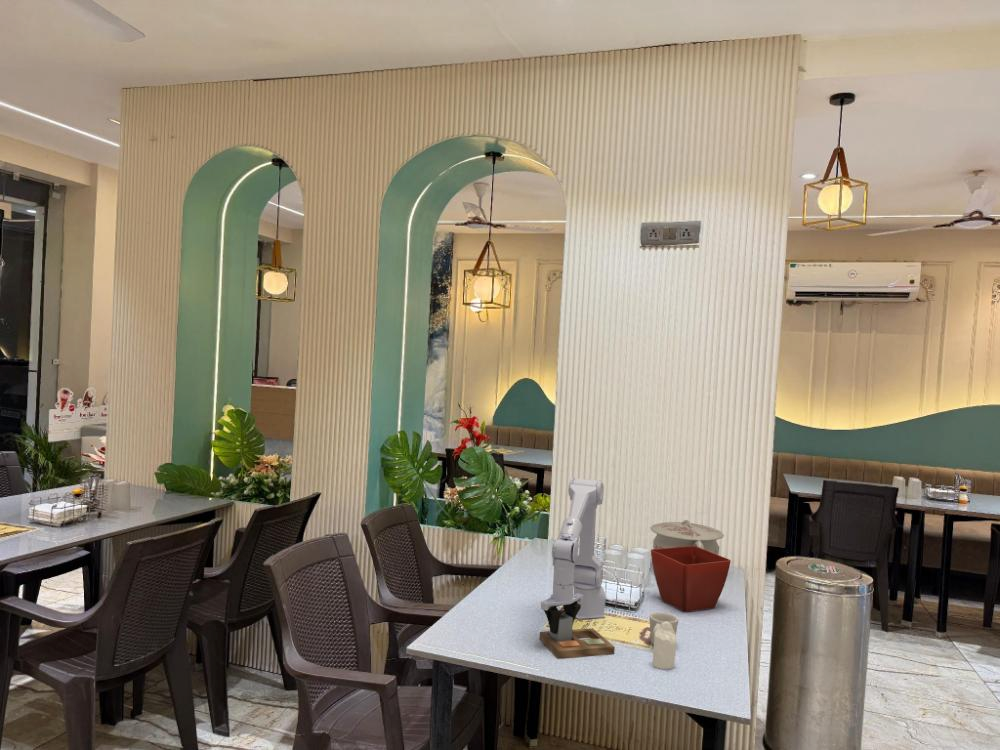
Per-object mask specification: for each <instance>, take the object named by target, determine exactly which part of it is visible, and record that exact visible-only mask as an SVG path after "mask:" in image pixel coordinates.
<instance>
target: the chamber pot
mask: <svg viewBox="0 0 1000 750" xmlns="http://www.w3.org/2000/svg"><path fill="white" fill-rule="evenodd" d="M649 529H650V531H651V532H653V533H655V534H656V535H655V537H654V538H653V540H652V548H653V549H662V548H673V547H685V546H697V547H699V548H702V549H704V550H707V551H709V552H712V553H714V554H717V555H719V556H720V545H719V544H718V540H720V539H723V538H724V536H725V534H724V533H723V532H722V531H720V530H718V529H716V528H714V527H710V526H707V525H704V524H700V523H699V524H698V523H693V522H691V521H690V520H688V519H685V520H683V521H668V522H666V521H665V522H659V523H655V524H653V525H651V526H650V527H649Z"/></svg>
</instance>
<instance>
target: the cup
mask: <svg viewBox="0 0 1000 750" xmlns="http://www.w3.org/2000/svg"><path fill="white" fill-rule="evenodd" d="M666 621H667V622H669V623H670V624H672V628H673V630H674V631H675V634H676V635H677V631H678V625H679V624H678V623H679V618H678V616H676V615H674V614H672V613H667V612H661V611H660V612H653V613H650V615H649V632H650V633H649V636H650V642H651V644H652V645H654V634H655V632H656V631H657V630H658V629H659V627H660V626H661V624H662V623H664V622H666Z"/></svg>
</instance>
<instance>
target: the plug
mask: <svg viewBox="0 0 1000 750" xmlns="http://www.w3.org/2000/svg"><path fill="white" fill-rule="evenodd" d="M559 610H560V611H562V613H561V615H560V618H559V623H558V632H557V634H554V633H551V632H550V634H549V636H550V637H551V638H552V639H553V640H554V641H555V642H557V641H570V640H572V630H573V626H572V625H574V623H573V618H572V617H570V616H569V615H567V614H565V612H566V611H565V610H564V609H559Z"/></svg>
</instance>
